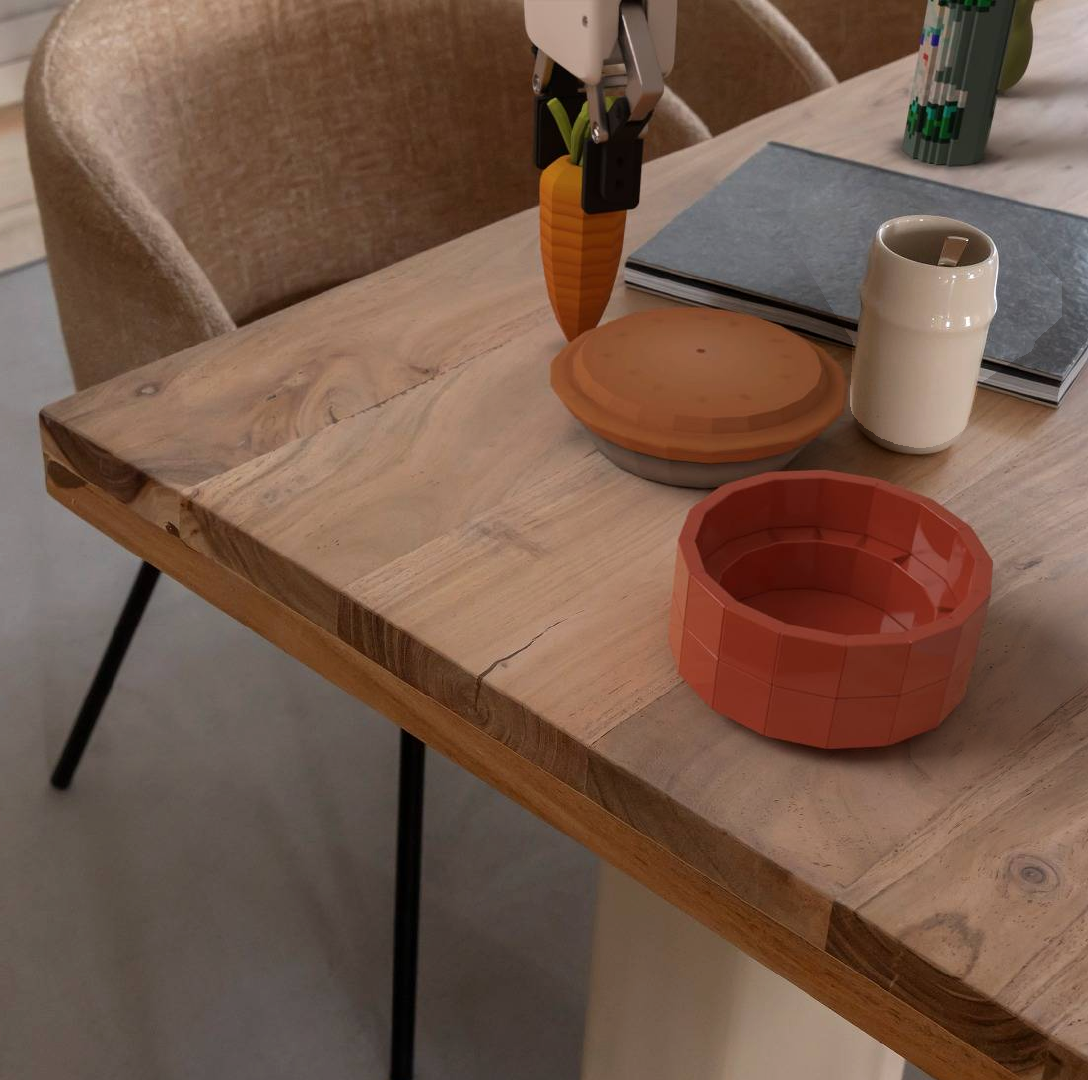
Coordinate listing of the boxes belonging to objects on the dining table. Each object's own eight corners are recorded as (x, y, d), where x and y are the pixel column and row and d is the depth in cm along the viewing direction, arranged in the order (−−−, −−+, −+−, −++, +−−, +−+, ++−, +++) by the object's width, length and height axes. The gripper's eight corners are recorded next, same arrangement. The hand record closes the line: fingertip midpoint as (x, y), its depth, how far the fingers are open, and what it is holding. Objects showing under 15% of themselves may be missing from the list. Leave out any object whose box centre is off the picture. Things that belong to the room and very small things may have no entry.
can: (891, 140, 116) (925, -60, 107) (961, 136, 117) (1001, -63, 108) (923, 167, 111) (962, -40, 102) (996, 162, 112) (1041, -43, 103)
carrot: (518, 345, 86) (522, 92, 77) (577, 322, 89) (588, 74, 80) (576, 375, 83) (587, 115, 74) (636, 349, 86) (654, 95, 77)
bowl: (766, 549, 69) (781, 440, 66) (1011, 655, 63) (1043, 541, 59) (612, 674, 61) (620, 558, 58) (873, 809, 55) (900, 689, 52)
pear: (1033, 98, 125) (1060, -24, 119) (977, 102, 124) (1002, -21, 118) (1000, 79, 129) (1025, -40, 123) (946, 83, 128) (969, -37, 122)
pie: (883, 416, 80) (899, 334, 77) (759, 547, 69) (772, 458, 66) (639, 343, 87) (645, 265, 84) (494, 452, 76) (494, 367, 73)
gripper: (754, -148, 64) (715, 236, 75) (601, -203, 77) (586, 130, 88) (599, -139, 62) (581, 255, 73) (468, -197, 75) (469, 144, 86)
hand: (584, 184), depth 80 cm, fingers open, 6 cm apart
